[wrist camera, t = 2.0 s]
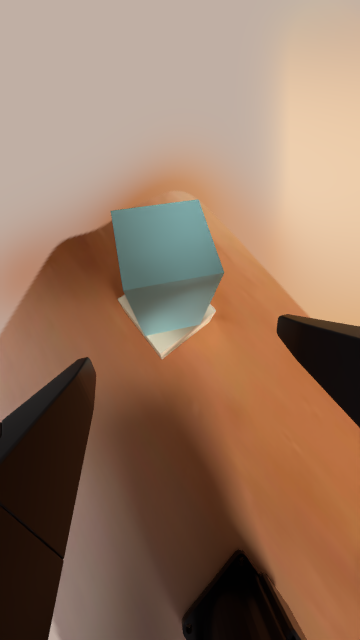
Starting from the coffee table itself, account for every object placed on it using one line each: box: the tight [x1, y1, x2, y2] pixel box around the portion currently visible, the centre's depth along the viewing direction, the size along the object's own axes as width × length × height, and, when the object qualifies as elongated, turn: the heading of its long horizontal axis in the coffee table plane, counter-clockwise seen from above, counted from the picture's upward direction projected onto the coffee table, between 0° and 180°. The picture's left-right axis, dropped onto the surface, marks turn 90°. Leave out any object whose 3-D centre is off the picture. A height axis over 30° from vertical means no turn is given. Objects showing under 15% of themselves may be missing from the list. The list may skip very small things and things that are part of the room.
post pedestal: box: [118, 295, 216, 359], centre depth 20 cm, size 7×7×7 cm
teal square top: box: [111, 200, 224, 336], centre depth 15 cm, size 5×5×9 cm
